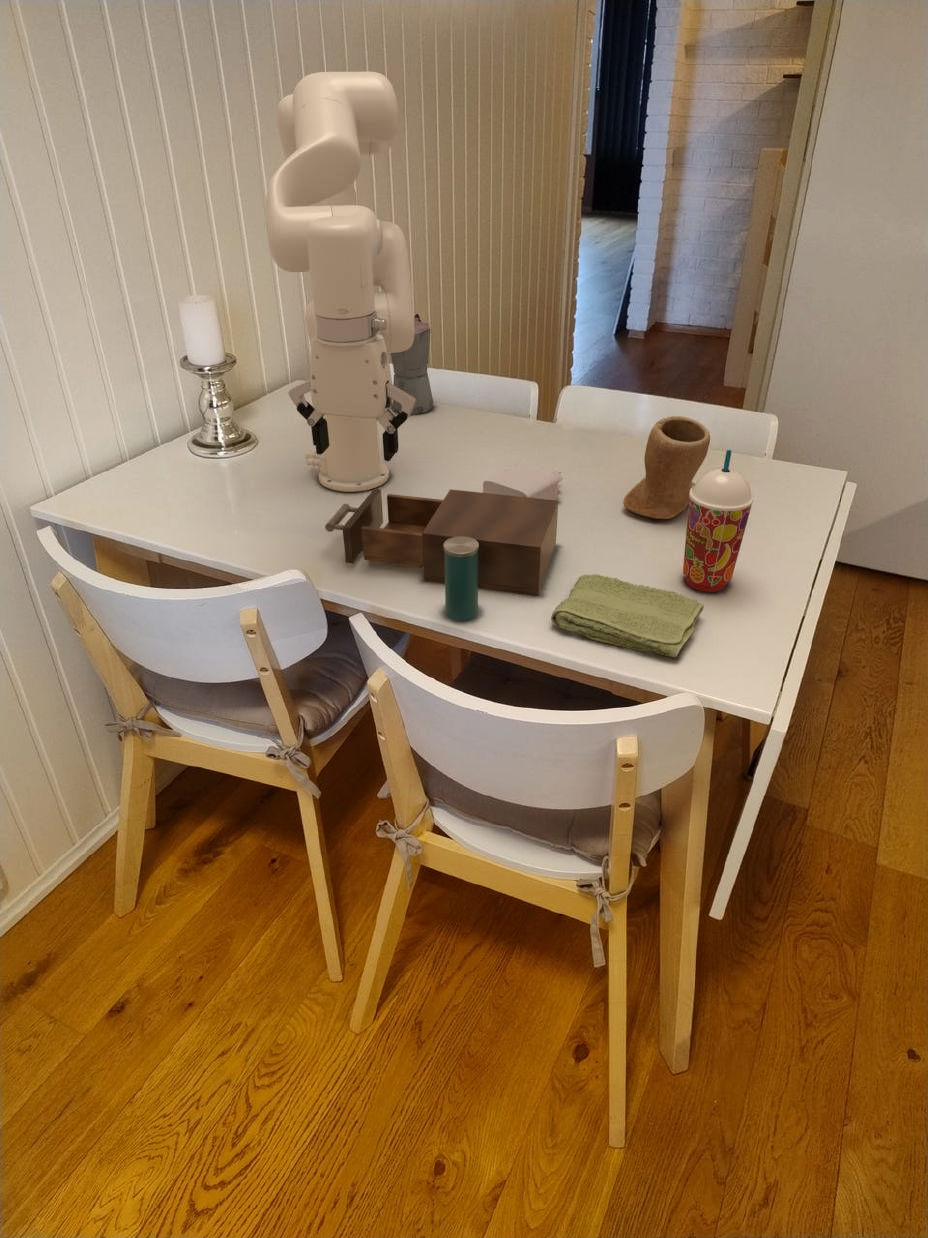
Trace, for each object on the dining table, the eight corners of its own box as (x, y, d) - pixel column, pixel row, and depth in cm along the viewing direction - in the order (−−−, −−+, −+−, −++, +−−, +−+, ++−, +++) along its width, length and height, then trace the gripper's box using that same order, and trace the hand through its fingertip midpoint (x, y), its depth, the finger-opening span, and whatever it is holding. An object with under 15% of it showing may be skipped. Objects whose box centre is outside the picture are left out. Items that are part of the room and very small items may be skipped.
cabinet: (423, 580, 121) (421, 532, 116) (450, 534, 133) (450, 489, 128) (538, 595, 117) (540, 546, 113) (555, 546, 129) (558, 500, 125)
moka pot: (382, 418, 176) (376, 320, 165) (399, 394, 189) (394, 301, 178) (426, 420, 175) (423, 322, 164) (440, 396, 187) (438, 303, 176)
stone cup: (681, 532, 133) (695, 442, 124) (613, 513, 138) (622, 426, 130) (716, 497, 143) (731, 413, 135) (651, 481, 149) (662, 399, 140)
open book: (577, 489, 146) (526, 520, 136) (534, 476, 151) (482, 504, 141) (579, 464, 143) (527, 493, 134) (535, 451, 148) (482, 478, 139)
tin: (449, 601, 116) (448, 534, 110) (482, 605, 115) (482, 538, 109) (440, 619, 112) (439, 550, 107) (474, 624, 111) (474, 555, 106)
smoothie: (668, 569, 123) (687, 439, 112) (724, 566, 124) (748, 437, 113) (686, 599, 116) (708, 464, 105) (744, 596, 117) (772, 462, 106)
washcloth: (679, 666, 103) (683, 644, 102) (546, 630, 110) (547, 610, 108) (704, 613, 113) (708, 593, 111) (580, 584, 120) (582, 564, 118)
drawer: (319, 559, 124) (314, 524, 121) (351, 519, 135) (348, 485, 132) (447, 576, 120) (446, 539, 117) (470, 532, 131) (470, 498, 128)
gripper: (420, 322, 106) (424, 448, 116) (293, 314, 109) (307, 437, 119) (403, 339, 100) (409, 471, 110) (269, 330, 103) (286, 459, 113)
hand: (356, 453), depth 114 cm, fingers open, 9 cm apart
